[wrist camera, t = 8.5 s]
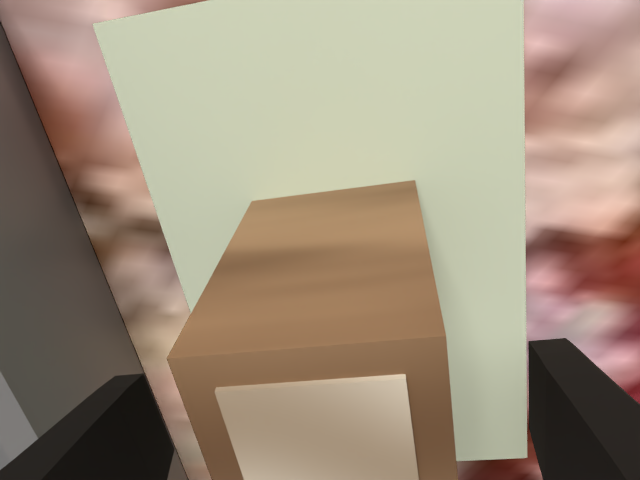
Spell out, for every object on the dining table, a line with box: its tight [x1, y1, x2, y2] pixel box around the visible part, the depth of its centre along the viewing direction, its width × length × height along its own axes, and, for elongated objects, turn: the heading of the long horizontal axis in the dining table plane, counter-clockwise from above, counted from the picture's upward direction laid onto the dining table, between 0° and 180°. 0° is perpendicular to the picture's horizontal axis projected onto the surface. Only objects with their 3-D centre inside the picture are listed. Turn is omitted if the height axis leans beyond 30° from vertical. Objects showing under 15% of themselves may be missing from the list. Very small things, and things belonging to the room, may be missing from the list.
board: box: [93, 0, 527, 461], centre depth 14 cm, size 14×9×1 cm, turn 10°
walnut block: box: [167, 180, 458, 480], centre depth 11 cm, size 4×4×6 cm
